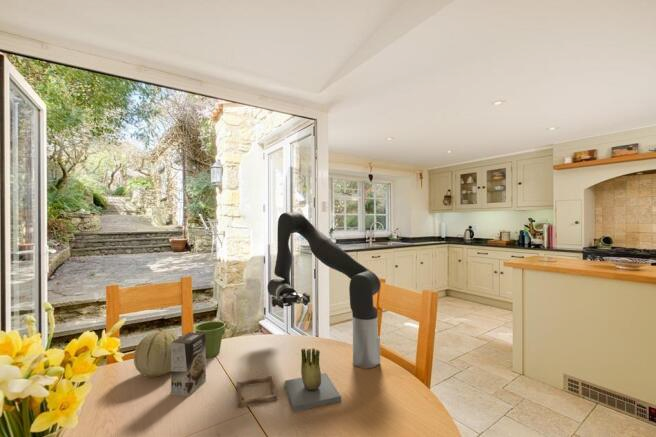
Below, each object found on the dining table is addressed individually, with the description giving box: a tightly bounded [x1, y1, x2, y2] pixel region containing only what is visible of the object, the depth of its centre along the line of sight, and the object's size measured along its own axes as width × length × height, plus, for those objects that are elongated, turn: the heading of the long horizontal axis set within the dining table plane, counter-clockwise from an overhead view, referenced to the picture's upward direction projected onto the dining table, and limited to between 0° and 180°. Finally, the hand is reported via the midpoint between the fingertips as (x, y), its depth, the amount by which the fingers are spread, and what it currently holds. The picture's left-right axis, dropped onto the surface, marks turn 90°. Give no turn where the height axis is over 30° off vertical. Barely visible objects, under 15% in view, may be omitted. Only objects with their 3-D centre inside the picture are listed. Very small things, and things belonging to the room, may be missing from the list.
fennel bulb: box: [300, 347, 322, 391], centre depth 92 cm, size 6×5×12 cm
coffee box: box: [170, 332, 207, 397], centre depth 95 cm, size 9×6×16 cm
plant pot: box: [193, 320, 226, 358], centre depth 120 cm, size 12×12×11 cm
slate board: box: [284, 372, 342, 412], centre depth 92 cm, size 14×14×2 cm
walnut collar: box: [236, 375, 278, 408], centre depth 92 cm, size 11×12×1 cm
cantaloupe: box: [133, 328, 180, 378], centre depth 104 cm, size 15×15×15 cm
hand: (294, 304), depth 107 cm, fingers open, 8 cm apart
